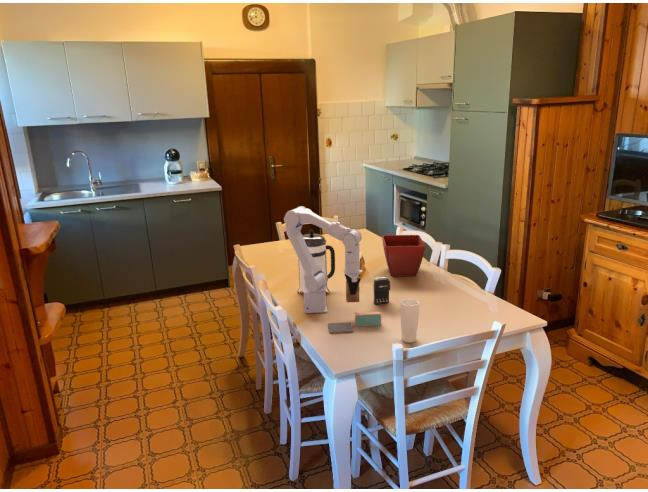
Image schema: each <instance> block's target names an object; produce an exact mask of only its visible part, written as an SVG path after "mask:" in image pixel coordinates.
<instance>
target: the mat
mask: <svg viewBox="0 0 648 492" xmlns="http://www.w3.org/2000/svg"><path fill="white" fill-rule="evenodd" d="M328 331H329V334H343V333H344V334H346V333H348V334H349V333H354V328H353V325H352V321H348V322H347V321H346V322H345V321H344V322H329V323H328Z"/></svg>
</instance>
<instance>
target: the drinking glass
mask: <svg viewBox="0 0 648 492" xmlns="http://www.w3.org/2000/svg"><path fill="white" fill-rule="evenodd" d="M399 312H400V326H401V327H400V328H401V340H402V341H403V342H404V343H407V344H408V343H414V342H416V341H417V335H418V334H417V333H418V328H419V327H418V325H419V320H420V319H419V318H420V301H419V300H417V299H415V298H404V299H402V300H401V301H400V309H399Z"/></svg>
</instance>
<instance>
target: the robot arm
mask: <svg viewBox="0 0 648 492" xmlns="http://www.w3.org/2000/svg"><path fill="white" fill-rule="evenodd" d="M283 221H284V224H285V232H286V235H287V237H288V240H289V242H290V244H291V246H292V248H293V250H294V252H295V254H296V256H297V258H298V261H299V260H300V262H301V264H302V267H303V269H304V271H305V272H304V280H305V286H306V288H307V290H304V292H303V308H304V309H303V310H304V314H315V313H316V314H318V313H319V314H320V313H327V312H328V307H327V296H326V294H327V293H326V292H327V291H326V290H327V289H326V290H325V284H326V283H327V284H328V282H329V279H328V277H327V275H328V274H327V275H326V273H324V272H323V270H322V269H321V267H319V266H317V265H316V263H315V261H314V259H313V257H312V255H311V253H310V251H309V249H308V247H307V245H306V242H305V240H304V238H303V234H302V232H301V231H302V228H303V225H304V224H309V223H310V224H311V225H314V226H316V227H318V228H320V229H323V230H325V231H326V232H327V235H329V236H331V237H332V238H334V239H337V240H338V241H341V242H342V244H343V246H344V276H345V282H346V281H347V283H348V285H349V291H350V294H351V295H356V291H357V287H358V284H359V285H360V282H361V278H359V275H360V274H363V269H360V242H361V241H362V237H363V235H362V233H361V232H360V231H359V230H358V229H356V228H355V229H354V228H353V229H351V227H346V226H344V225H343V224H341V222H339V221H333V222H330V221H328V220H327V219H326V218H323V217H322V216H320V215H318V214H317V213H315V212H313V211H312V210H311V209H310V208H306V207H305V206H303V205H301V206H300V205H299V206H297V207H296V208H293V209H291V210H287V212H286V213H285V215H284V218H283Z"/></svg>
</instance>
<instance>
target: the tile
mask: <svg viewBox="0 0 648 492" xmlns="http://www.w3.org/2000/svg"><path fill="white" fill-rule="evenodd" d="M354 324H355V325H354V326H355V327H371V326H372V327H373V326H376V327H377V326H382V313H381V311H371V312H355V313H354Z"/></svg>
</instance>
